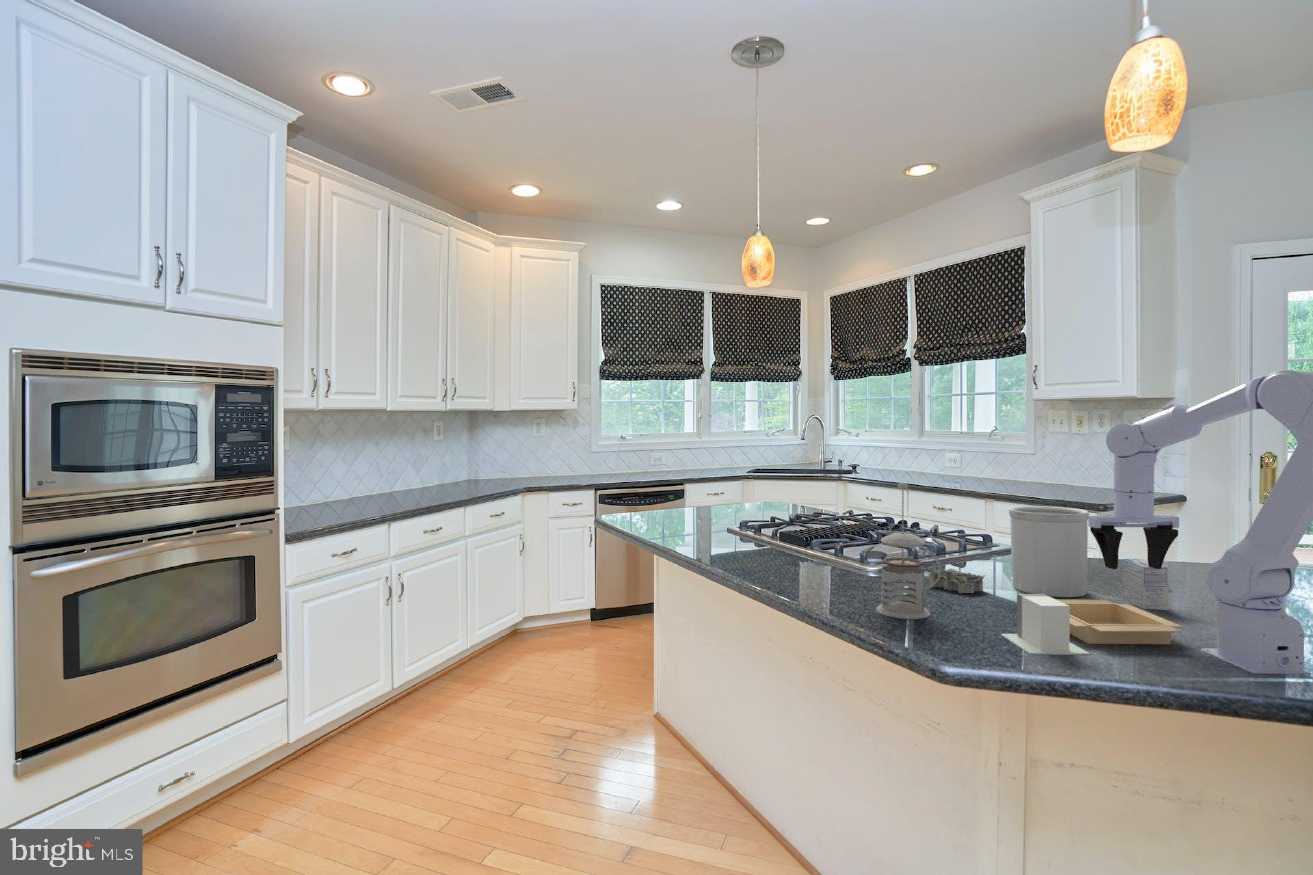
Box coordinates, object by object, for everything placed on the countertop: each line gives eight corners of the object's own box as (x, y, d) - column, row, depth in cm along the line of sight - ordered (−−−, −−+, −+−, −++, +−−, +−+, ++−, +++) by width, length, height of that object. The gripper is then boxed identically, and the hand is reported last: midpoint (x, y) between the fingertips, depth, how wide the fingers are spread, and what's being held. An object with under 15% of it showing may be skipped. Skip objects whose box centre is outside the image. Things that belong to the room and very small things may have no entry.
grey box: (1069, 650, 100) (1069, 605, 100) (1040, 650, 100) (1041, 605, 100) (1043, 635, 107) (1043, 593, 107) (1017, 635, 107) (1017, 593, 107)
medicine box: (1169, 612, 122) (1169, 567, 121) (1142, 610, 123) (1143, 566, 122) (1146, 600, 129) (1146, 558, 129) (1121, 599, 130) (1121, 557, 130)
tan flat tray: (1196, 651, 100) (1196, 630, 100) (1085, 651, 101) (1085, 629, 101) (1117, 617, 118) (1117, 599, 118) (1024, 616, 119) (1024, 598, 119)
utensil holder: (993, 584, 143) (993, 507, 142) (1041, 578, 148) (1041, 503, 148) (1054, 602, 129) (1055, 515, 129) (1105, 594, 134) (1106, 511, 134)
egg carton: (923, 585, 144) (923, 567, 143) (945, 581, 147) (945, 563, 147) (966, 596, 134) (966, 577, 134) (988, 591, 138) (988, 572, 138)
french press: (881, 601, 130) (881, 479, 129) (943, 609, 124) (943, 481, 124) (870, 614, 122) (870, 483, 121) (936, 623, 116) (937, 486, 115)
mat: (1089, 656, 99) (1089, 653, 99) (1030, 656, 99) (1030, 652, 99) (1055, 637, 108) (1055, 633, 108) (1000, 637, 108) (1000, 633, 108)
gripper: (1158, 489, 117) (1157, 562, 117) (1077, 489, 117) (1077, 562, 117) (1189, 493, 110) (1188, 571, 110) (1103, 493, 110) (1103, 571, 110)
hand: (1132, 567), depth 113 cm, fingers open, 7 cm apart
